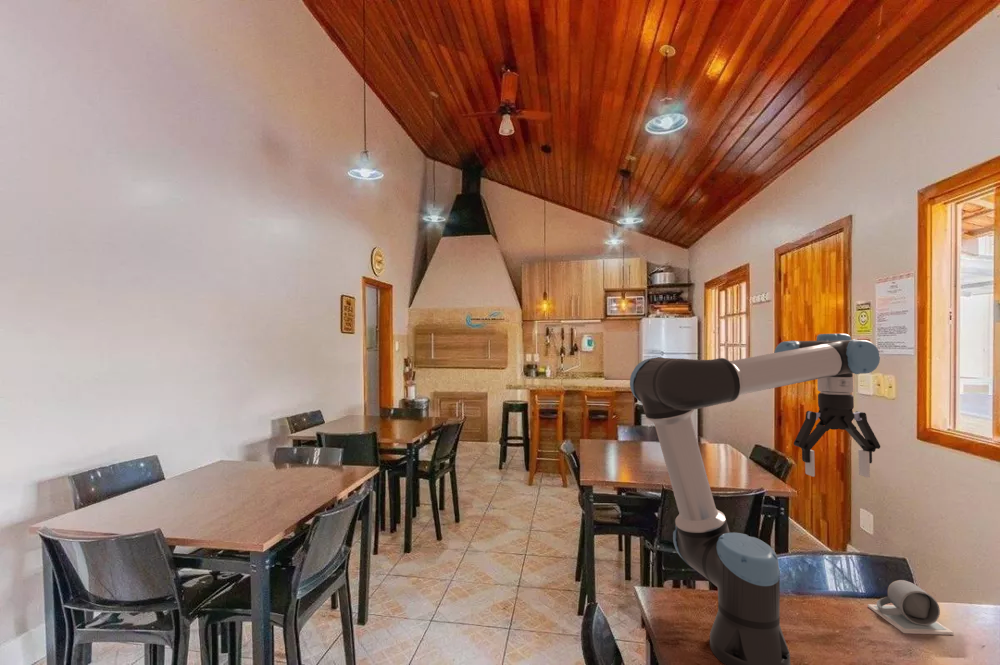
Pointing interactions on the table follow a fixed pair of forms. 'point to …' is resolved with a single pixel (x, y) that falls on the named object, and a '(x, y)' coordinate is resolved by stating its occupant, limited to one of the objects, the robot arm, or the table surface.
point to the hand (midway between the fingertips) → (837, 475)
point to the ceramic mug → (910, 603)
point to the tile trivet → (911, 623)
